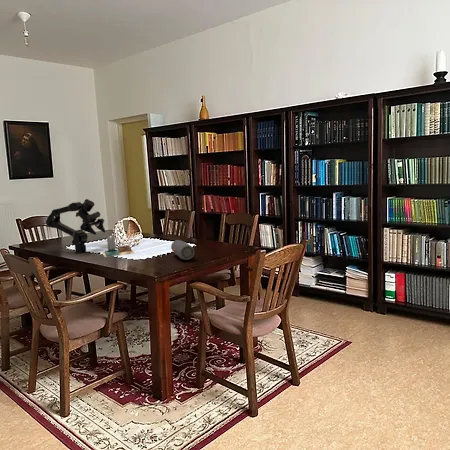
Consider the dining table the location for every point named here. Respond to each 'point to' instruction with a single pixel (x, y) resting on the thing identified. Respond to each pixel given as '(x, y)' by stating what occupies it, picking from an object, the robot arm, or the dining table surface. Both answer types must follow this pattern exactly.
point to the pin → (111, 243)
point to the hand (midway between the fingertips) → (100, 233)
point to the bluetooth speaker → (182, 249)
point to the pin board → (119, 251)
